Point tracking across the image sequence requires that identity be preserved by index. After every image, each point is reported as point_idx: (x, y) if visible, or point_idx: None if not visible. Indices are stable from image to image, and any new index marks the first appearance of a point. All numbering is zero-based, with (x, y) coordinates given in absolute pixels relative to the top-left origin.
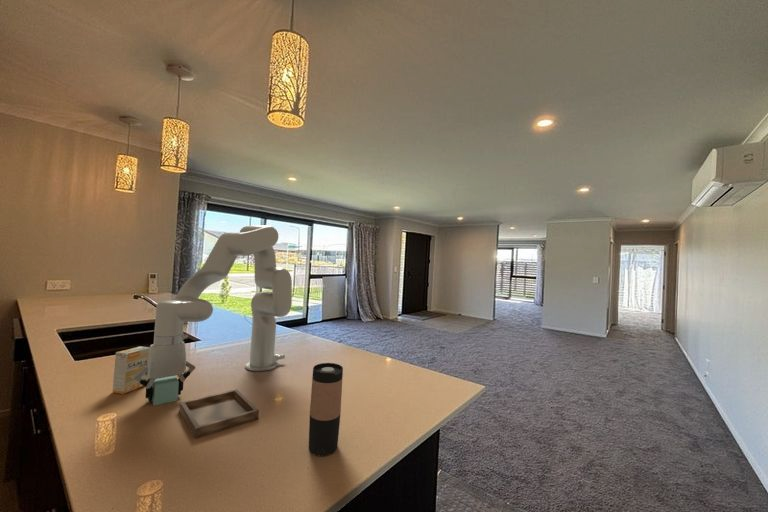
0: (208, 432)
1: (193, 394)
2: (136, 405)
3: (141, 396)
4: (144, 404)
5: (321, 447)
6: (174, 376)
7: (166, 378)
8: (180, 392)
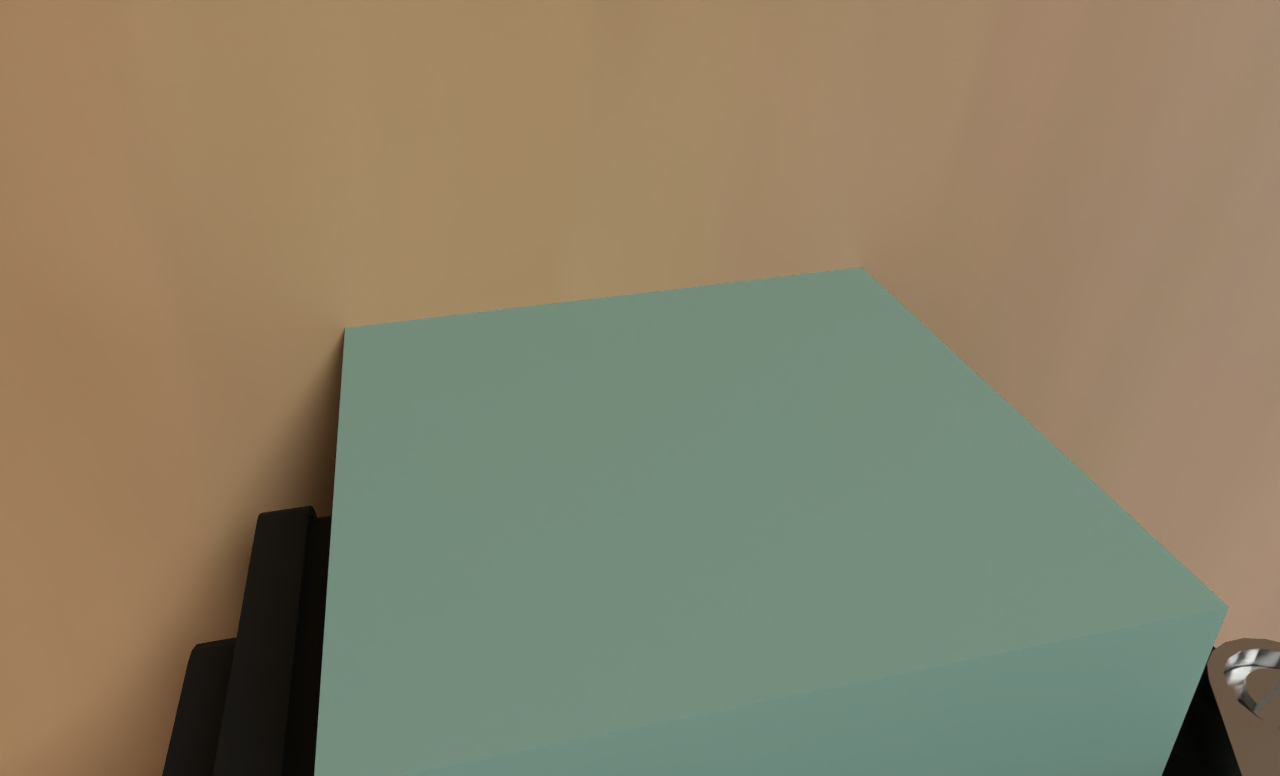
0: None
1: (1127, 492)
2: (45, 594)
3: (35, 16)
4: (224, 603)
5: None
6: (1169, 690)
7: None
8: None
